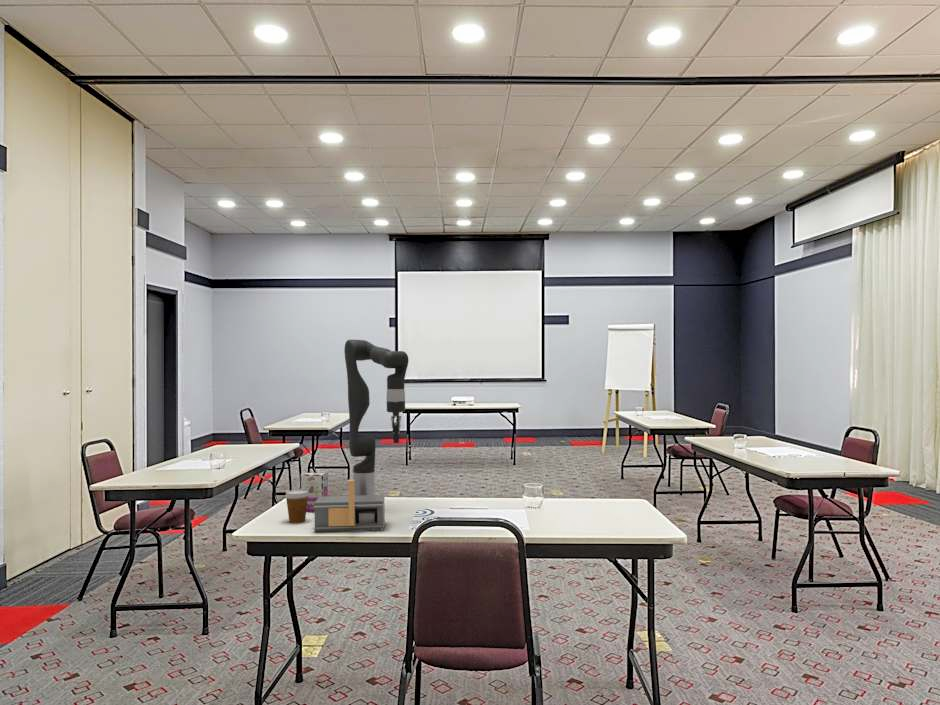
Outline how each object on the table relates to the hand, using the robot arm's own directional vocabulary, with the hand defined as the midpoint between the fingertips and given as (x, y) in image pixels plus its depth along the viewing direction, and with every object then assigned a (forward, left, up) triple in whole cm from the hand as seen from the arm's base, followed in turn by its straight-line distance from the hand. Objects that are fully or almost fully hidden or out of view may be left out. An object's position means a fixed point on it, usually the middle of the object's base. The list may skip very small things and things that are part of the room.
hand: (396, 442), depth 266 cm
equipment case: (+6, -18, -32) cm, 37 cm away
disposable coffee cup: (-6, -41, -32) cm, 52 cm away
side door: (+14, -21, -30) cm, 39 cm away
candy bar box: (-24, -37, -32) cm, 55 cm away
